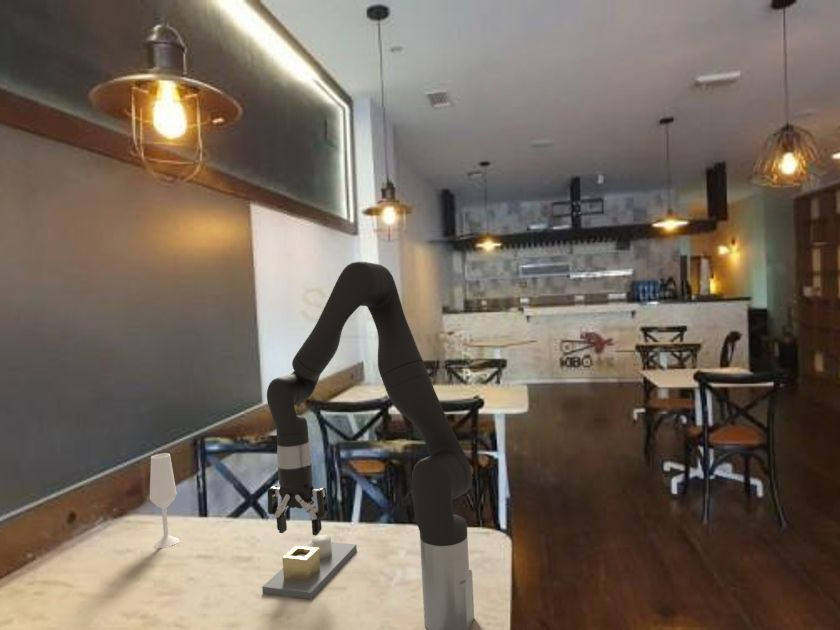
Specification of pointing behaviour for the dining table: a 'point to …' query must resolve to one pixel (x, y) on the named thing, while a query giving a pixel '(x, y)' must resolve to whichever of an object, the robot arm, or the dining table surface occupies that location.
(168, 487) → the champagne flute
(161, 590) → the dining table surface
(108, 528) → the dining table surface
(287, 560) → the hollow square frame
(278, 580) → the stub plate
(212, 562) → the dining table surface
